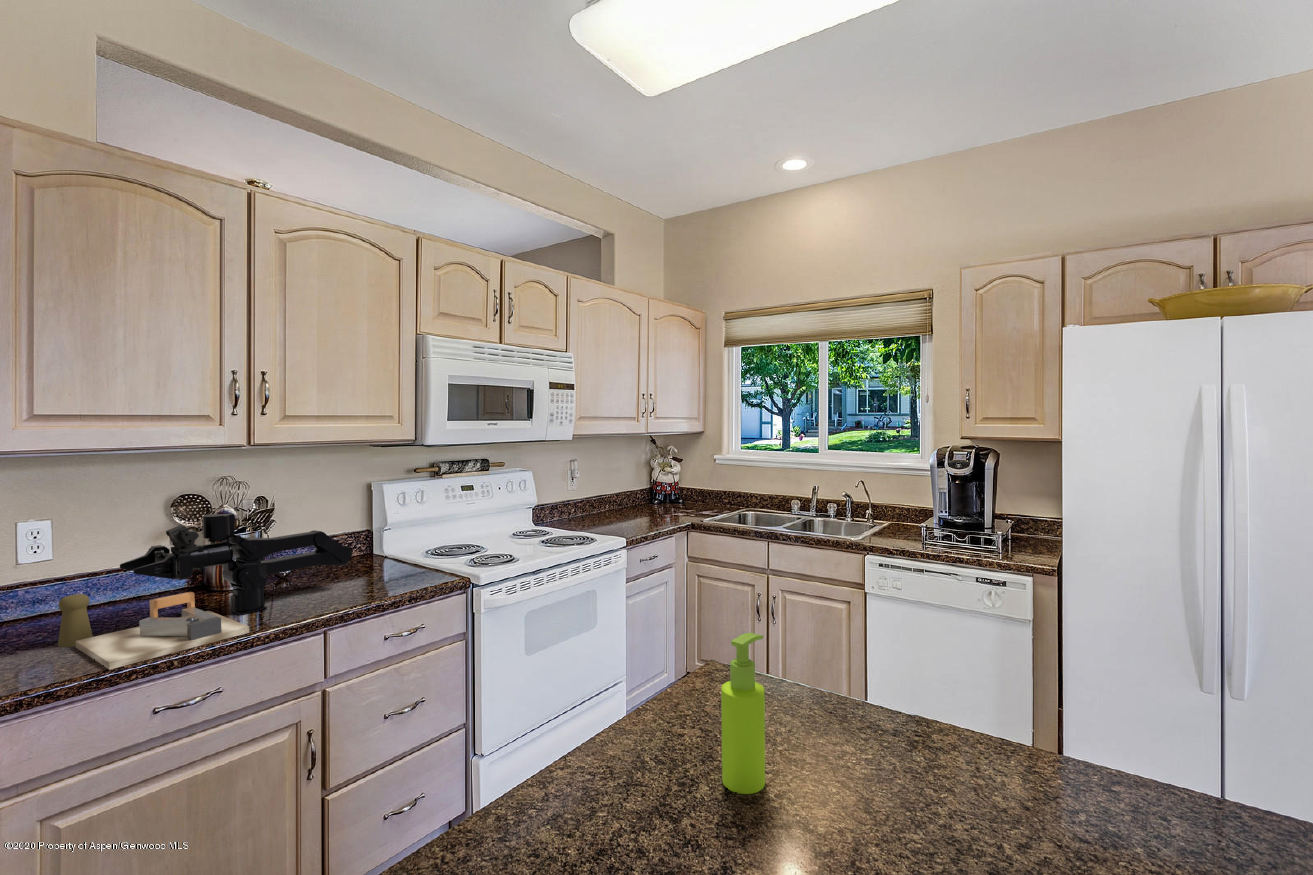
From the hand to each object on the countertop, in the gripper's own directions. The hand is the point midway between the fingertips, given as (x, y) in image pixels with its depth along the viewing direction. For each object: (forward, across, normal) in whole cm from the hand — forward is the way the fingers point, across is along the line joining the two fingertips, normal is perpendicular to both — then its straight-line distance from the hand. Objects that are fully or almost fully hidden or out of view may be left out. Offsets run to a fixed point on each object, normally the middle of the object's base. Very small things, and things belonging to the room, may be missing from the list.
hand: (126, 569), depth 145 cm
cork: (+8, -8, +17) cm, 20 cm away
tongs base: (-9, +11, +15) cm, 21 cm away
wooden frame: (-9, -1, +15) cm, 18 cm away
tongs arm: (-5, +10, +15) cm, 19 cm away
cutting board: (-4, +8, +16) cm, 19 cm away
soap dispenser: (-27, +146, +17) cm, 149 cm away
